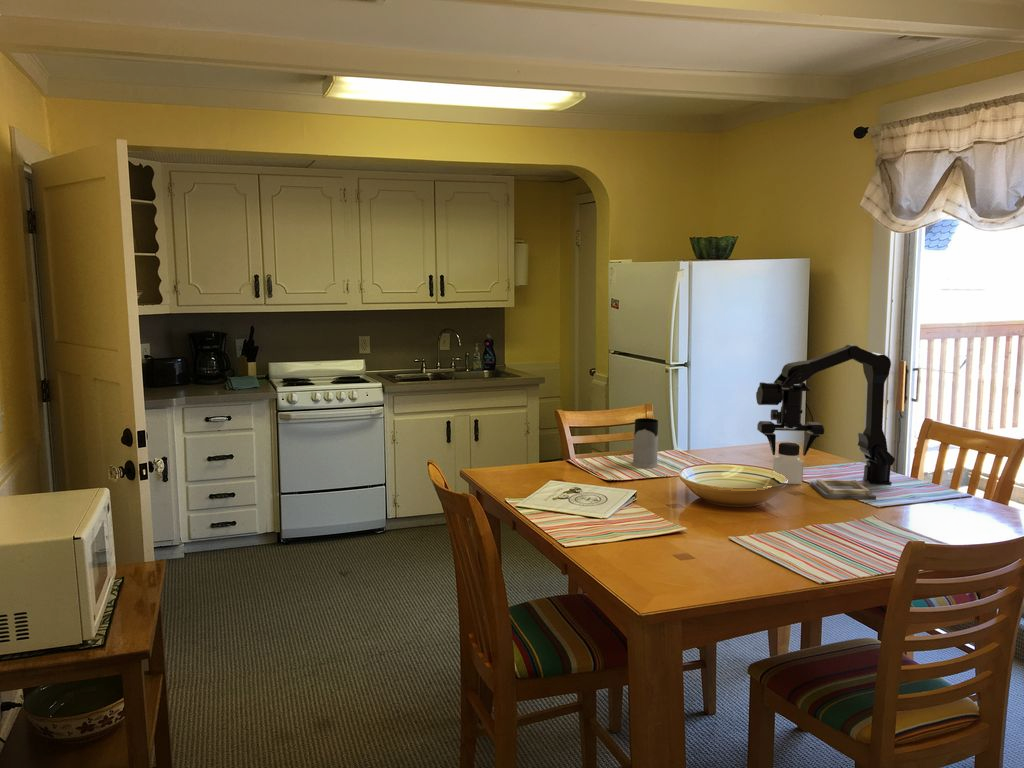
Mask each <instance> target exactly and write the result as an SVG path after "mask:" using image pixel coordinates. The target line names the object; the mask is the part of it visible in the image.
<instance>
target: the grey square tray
mask: <svg viewBox="0 0 1024 768" xmlns="http://www.w3.org/2000/svg"><path fill="white" fill-rule="evenodd" d="M810 486H811V487H812V488H813V489H815V490H816V491H817V492H818V493H819V494H820V495H821V496H822V497H824V498H825V499H832V500H833V499H834V500H835V499H837V500H839V499H841V500H871V499H877V496H876V495H875V494H874V493H872V492H871V491H870V489H869V488H867V487H866V486H864V485H863V484H861V483H860V481H857V480H856V479H825V478H823V479H816V481H811V482H810Z"/></svg>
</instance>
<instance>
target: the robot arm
mask: <svg viewBox="0 0 1024 768" xmlns="http://www.w3.org/2000/svg"><path fill="white" fill-rule="evenodd" d="M850 360H851V361H852V360H853V361H855V362H857V363H860V364H862V370H863V374H864V377H865V379H866V382H867V387H866V388H867V389H866V410H865V411H866V413H865V416H866V417H865V419H866V420H865V429H864V430H863V432H858V436H857V437H858V442H857V446H858V447H859V451H861V452H862V454H863V455H864V458H865V459H866V464H865V465H864V468H863V478H862V479H863V480H865V481H866V482H867V483H869V484H873V485H874V484H875V485H876V484H878V485H879V484H880V485H892V484H893V482H892V481H890V479H891V467H892V466H893V465H894V464H895V463H894V462H895V461H896V458H895V457H894V456H893V455H892V454H891V453H890V452H889V450H888V444H887V438H886V436H885V433H884V430H883V429H884V427H883V424H884V423H883V421H884V401H885V400H884V396H885V383H886V381H887V379H888V378H889V375H890V371H891V367H892V366H891V365H892V361H891V359H890V358H889V357H888V356H887V355H886V354H882V353H877V352H873V351H872V352H871V351H868V350H866V349H864V348H861V347H859V346H858V345H854V344H851V343H850V344H846V345H844V346H843V347H840V348H838V349H835V350H832V351H830V352H827V353H825V354H822V355H819V356H817V357H814V358H812V359H808V360H799V361H793V362H788V363H786V364H784V366H783V367H782V369H781V373H779V375H778V376H777V377H776V379H775V380H774V381H773V382H769V383H768V382H763V381H762V382H759V386H758V388H757V390H756V392H755V398H756V404H757V405H758V406H778V405H779V404H781V406H780V411H779V409H775V408H773V409H771V410H770V420H771V421H770V420H769V421H768V420H765V421H764V420H759V421H758V422H757V424H756V425H757V428H756V430H757V431H758V432H760V433H761V434H762V435H764V436H765V437H766V438H767V440H768V441H767V442H768V443H769V446H770V451H771V453H772V455H773V456H776V437H777V435H776V434H775V432H776V431H784V432H785V431H789V432H790V431H793V432H796V431H797V432H803V433H804V441H803V448H802V455H803V456H804V457H806V455H807V454H808V452H809V449H810V447H811V446H812V444H813V443H814V441H815V440H816V438H820V435H825V426H824V425H823V424H821V423H820V422H819V421H806V423H805V424H802V414H803V409H802V408H803V407H802V406H803V395H804V392H810V391H811V388H809V387H808V386H807V384H806V383H805V382H806V381H808V380H810V379H811V378H812V377H813V376H814V375H815V374H817V373H819V372H822V371H825V370H827V369H831V368H832V367H834V366H838V365H840V364H842V363H845V362H848V361H850ZM772 421H776V423H774V422H772Z"/></svg>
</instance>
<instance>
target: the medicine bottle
mask: <svg viewBox="0 0 1024 768" xmlns="http://www.w3.org/2000/svg"><path fill="white" fill-rule="evenodd" d="M800 449H801V448H800V445H799V444H798V443H796V442H794V441H793V442H792V441H784V442H783V441H782V442H780V443H778V453H777V454H778V455H773V458H772V459H773V460H772V472H773V471H775V472H777V473H779V474H782V475H784V476H786V477H787V479H788V484H787V485H802V484H803V475H804V474H803V473H804V461H803V460H801V459H800V458H799V457H800Z"/></svg>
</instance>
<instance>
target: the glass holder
mask: <svg viewBox="0 0 1024 768" xmlns="http://www.w3.org/2000/svg"><path fill="white" fill-rule="evenodd" d="M658 444H659V420H658V419H655V418H649V417H646V418H645V417H644V418H642V417H639V418H635V420H634V432H633V448H632V449H633V451H632V452H633V454H632V457H633V458H632V462H631V466H632V467H635V468H639V469H655V468H658V467H659V464H658V451H659V450H658V449H659V445H658Z"/></svg>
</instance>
